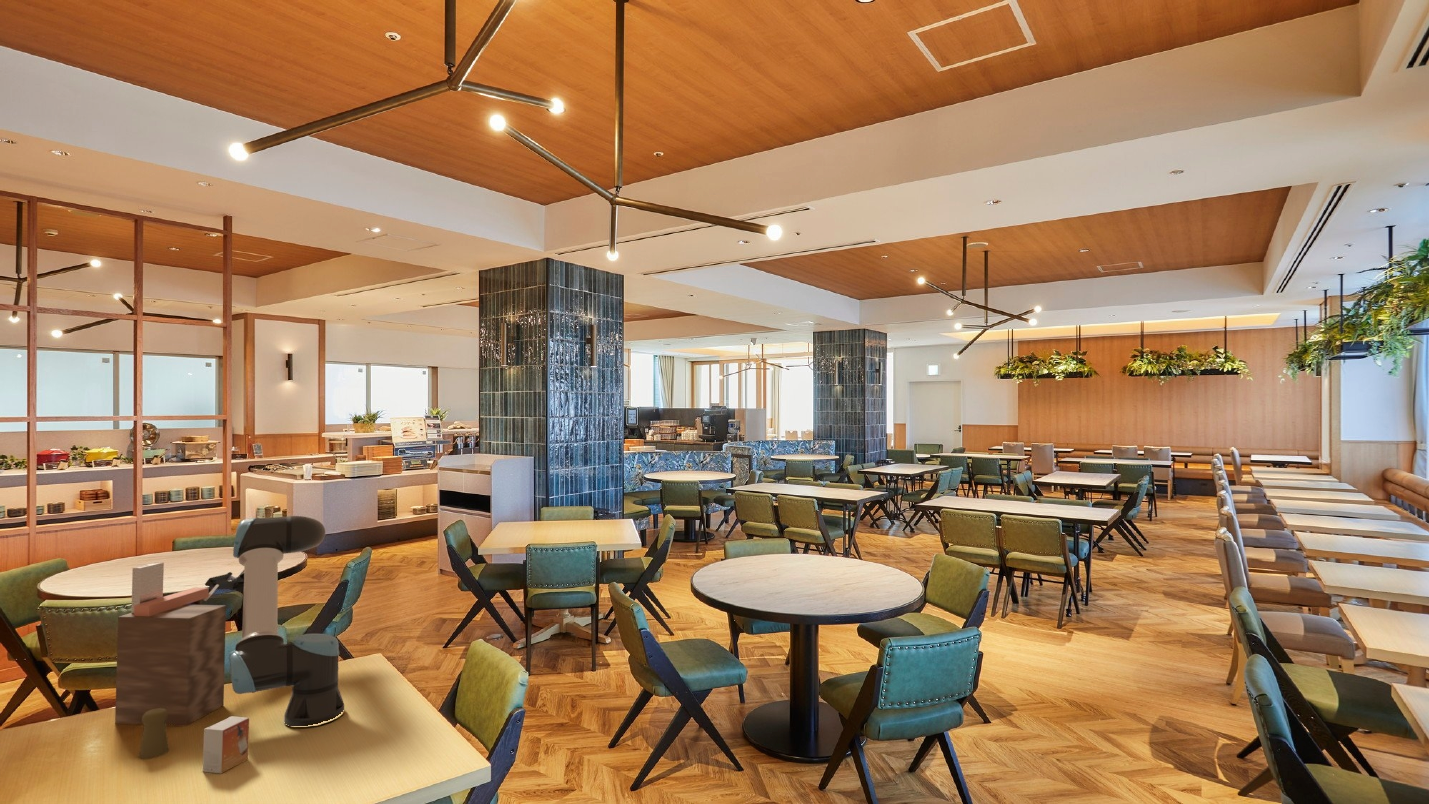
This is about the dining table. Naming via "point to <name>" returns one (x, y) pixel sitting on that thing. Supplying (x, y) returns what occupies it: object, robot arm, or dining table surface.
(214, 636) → the wooden block pedestal
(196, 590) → the terracotta clay brick
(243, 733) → the small box
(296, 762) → the dining table surface
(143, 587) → the bookend
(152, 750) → the cork
